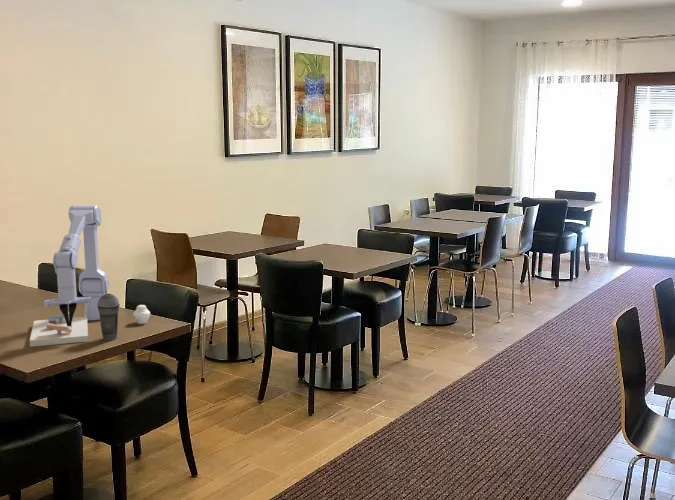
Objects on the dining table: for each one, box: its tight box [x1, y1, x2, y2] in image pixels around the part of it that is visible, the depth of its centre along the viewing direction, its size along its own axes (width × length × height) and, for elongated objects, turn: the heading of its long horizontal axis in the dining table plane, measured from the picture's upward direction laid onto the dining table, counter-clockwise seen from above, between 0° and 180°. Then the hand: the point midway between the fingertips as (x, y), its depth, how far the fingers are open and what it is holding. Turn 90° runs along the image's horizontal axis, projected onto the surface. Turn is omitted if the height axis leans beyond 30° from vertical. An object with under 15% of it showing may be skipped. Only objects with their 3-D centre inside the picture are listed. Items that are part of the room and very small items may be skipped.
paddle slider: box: [49, 318, 57, 325], centre depth 239 cm, size 2×3×3 cm
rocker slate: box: [47, 311, 69, 321], centre depth 247 cm, size 8×3×1 cm, turn 110°
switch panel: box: [29, 316, 89, 348], centre depth 240 cm, size 18×26×3 cm
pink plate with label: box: [46, 323, 72, 333], centre depth 232 cm, size 8×3×1 cm, turn 111°
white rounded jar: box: [132, 304, 151, 325], centre depth 254 cm, size 6×6×7 cm
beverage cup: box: [97, 281, 120, 342], centre depth 233 cm, size 7×7×20 cm
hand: (69, 325), depth 233 cm, fingers closed
